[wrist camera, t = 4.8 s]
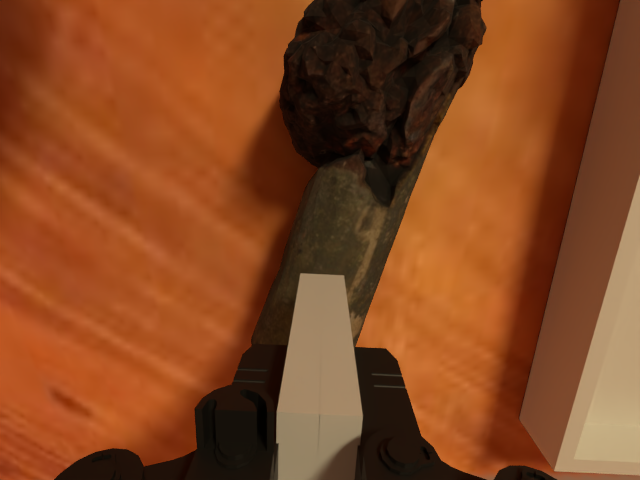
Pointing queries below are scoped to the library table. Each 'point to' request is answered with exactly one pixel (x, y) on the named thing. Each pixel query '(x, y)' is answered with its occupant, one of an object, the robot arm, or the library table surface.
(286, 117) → the metal pipe
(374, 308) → the library table surface
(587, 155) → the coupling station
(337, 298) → the robot arm
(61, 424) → the library table surface
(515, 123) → the library table surface
